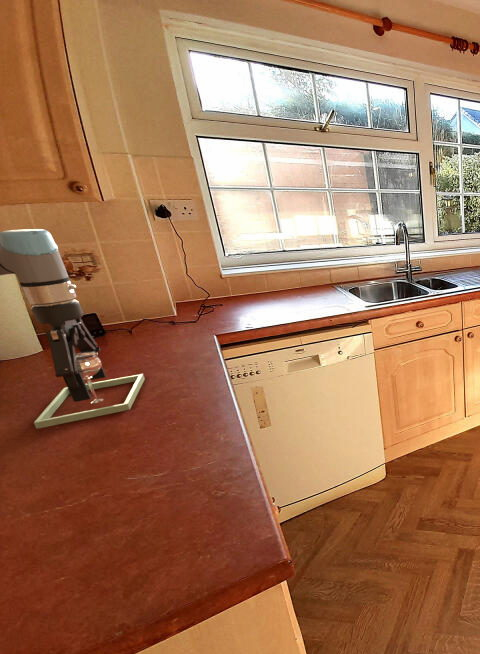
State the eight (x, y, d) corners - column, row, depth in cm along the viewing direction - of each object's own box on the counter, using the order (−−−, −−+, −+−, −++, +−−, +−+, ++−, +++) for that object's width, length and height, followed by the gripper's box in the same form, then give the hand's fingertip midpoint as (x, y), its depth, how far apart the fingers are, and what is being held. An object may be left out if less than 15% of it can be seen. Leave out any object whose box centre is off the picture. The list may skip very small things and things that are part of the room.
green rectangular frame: (39, 434, 91) (33, 422, 90) (68, 397, 107) (63, 387, 106) (131, 414, 99) (127, 403, 97) (146, 383, 114) (143, 373, 113)
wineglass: (94, 410, 99) (74, 363, 94) (70, 408, 100) (49, 362, 95) (123, 397, 105) (105, 352, 100) (100, 395, 106) (82, 351, 102)
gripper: (58, 313, 85) (98, 406, 93) (92, 289, 105) (123, 367, 113) (5, 319, 81) (51, 415, 89) (51, 293, 101) (85, 373, 109)
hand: (91, 388), depth 101 cm, fingers open, 13 cm apart
